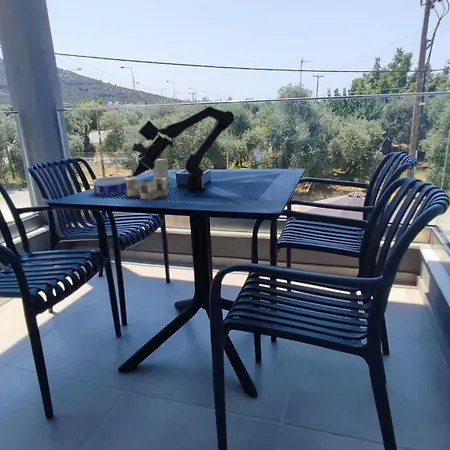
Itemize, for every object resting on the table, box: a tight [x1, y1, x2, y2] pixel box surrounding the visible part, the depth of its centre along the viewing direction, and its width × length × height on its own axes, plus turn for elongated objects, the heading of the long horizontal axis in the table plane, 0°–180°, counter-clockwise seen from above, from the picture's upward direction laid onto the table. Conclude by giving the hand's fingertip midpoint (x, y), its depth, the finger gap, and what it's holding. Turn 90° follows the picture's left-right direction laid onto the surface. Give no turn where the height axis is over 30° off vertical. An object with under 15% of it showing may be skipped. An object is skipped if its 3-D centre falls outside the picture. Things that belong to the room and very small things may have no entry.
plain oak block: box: [126, 177, 140, 197], centre depth 155 cm, size 5×5×7 cm
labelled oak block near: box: [138, 179, 159, 201], centre depth 147 cm, size 5×5×7 cm
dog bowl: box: [92, 175, 128, 196], centre depth 165 cm, size 15×15×6 cm
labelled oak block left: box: [152, 178, 169, 197], centre depth 152 cm, size 5×5×7 cm
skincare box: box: [152, 158, 170, 185], centre depth 176 cm, size 6×4×12 cm
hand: (133, 176), depth 154 cm, fingers closed
